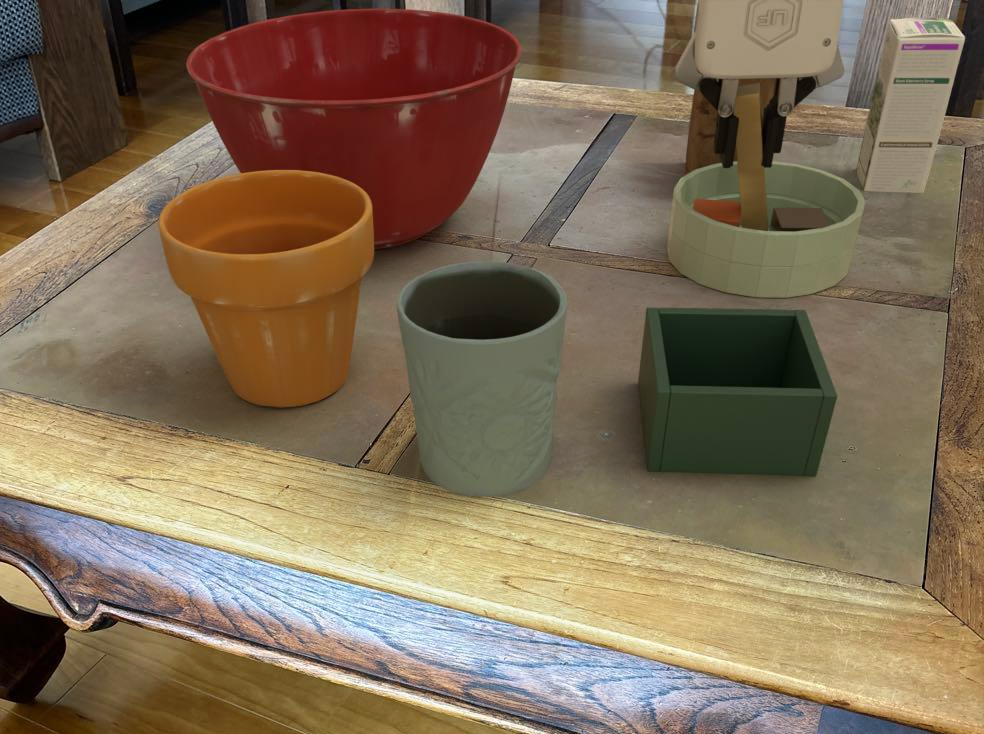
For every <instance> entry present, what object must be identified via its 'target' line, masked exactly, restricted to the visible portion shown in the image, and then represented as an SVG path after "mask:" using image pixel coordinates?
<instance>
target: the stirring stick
mask: <svg viewBox="0 0 984 734" xmlns="http://www.w3.org/2000/svg"><path fill="white" fill-rule="evenodd" d="M733 115H734V116H736V117H739V125H738V132H737V140H736V153H737V166H738V179H739V192H740V204H741V217H742V228H747V229H754V230H762V231H768V214H767V197H766V181H765V168H764V166H762V165H761V164H762V158H763V133H762V114H761V98H760V83H755V84H749V85H744V86H738V89H737V94H736V100H735V106H734V111H733Z"/></svg>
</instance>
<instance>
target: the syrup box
mask: <svg viewBox="0 0 984 734" xmlns="http://www.w3.org/2000/svg"><path fill="white" fill-rule="evenodd" d="M965 39H966V36H965V35H964V34H963V33H962V31H961V29H959V27H958V25H956V23H955V22H954V21H953V20H952V19H949V18H939V17H937V18H936V17H908V18H906V17H905V18H897V19H892V18H891V19H890V20H889V23H888V26H887V31H886V34H885V39H884V44H883V48H882V52H881V57H880V61H879V65H878V70H877V74H876V78H875V83H874V89H873V93H872V98H871V102H870V106H869V111H868V115H867V119H866V123H865V127H864V132H863V138H862V142H861V146H860V150H859V151H860V152H859V155H858V160H857V164H856V165H857V166H856V168H855V169H856V170H855V171H856V173H857V177H858V180H859V182H860V184H861V188H862V190H863V191H864V192H882V193H910V194H917V193H918V194H924V192H925V190H926V186H927V183H928V179H929V175H930V172H931V169H932V165H933V162H934V158H935V154H936V152H937V151H936V150H937V147H938V143H939V140H940V135H941V132H942V127H943V124H944V120H945V116H946V113H947V109H948V106H949V101H950V97H951V93H952V89H953V86H954V82H955V78H956V74H957V70H958V66H959V63H960V59H961V56H962V52H963V48H964V44H965V41H966V40H965Z"/></svg>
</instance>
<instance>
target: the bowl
mask: <svg viewBox="0 0 984 734" xmlns="http://www.w3.org/2000/svg"><path fill="white" fill-rule="evenodd" d="M765 181H766V197H767V214H768V231H762V230H754V229H747V228H742V217H741V222H740V227H736V226H732V225H729V224H725V223H722V222H718V221H715V220H712V219H710V218H708V217H706V216H704V215H702V214H700V213H698V212H696V211H694V210H693V206H694V200H695V199H707V200H721V201H735V202H740V192H739V179H738V166H737V161H734V162H733V166H730V168H723V166H722V163H717V164H713V165H710V166H706V167H703V168H699V169H696V170H694V171H692V172H690V173H689V174H687V175H685V174H684V175H683V176H682V177H681V178H680V179H679V180H678V182H677V183H676V184H675V186H674V188H673V193H672V201H671V208H670V217H669V219H670V220H669V224H668V233H667V240H666V241H667V242H666V254H667V260H668V262H669V263H670V264H671V265H672V266H673V267H674V268H675V269H676V271H677V272H678V273H680V275H683V276H684V277H686V278H688V279H689V280H691V281H693V282H694V283H696V284H698V285H700V286H703V287H707V288H710V289H713V290H715V291H719V292H722V293H726V294H732V295H737V296H738V295H740V296H745V297H751V298H766V299H767V298H770V299H771V298H775V299H777V298H778V299H785V298H786V299H787V298H793V297H802V296H808V295H814V294H816V293H818V292H822V291H824V290H827V289H830V288H832V287H835V286H836V285H837V284H839V282H841V281H842V280H843V279H844V278H846V277H847V275H848V274H849V269H850V266H851V262H852V259H853V254H854V250H855V247H856V243H857V238H858V234H859V231H860V230H859V229H860V226H861V222H862V219H863V215H864V210H865V206H866V199H865V198H864V196H863V194H862V193H861V191H860V189H859V188H857V187H855V185H853V184H852V183H850V182H849V181H847V180H846V179H845V178H843V177H840V176H837V175H835V174H833V173H830V172H828V171H826V170H822V169H818V168H815V167H811V166H807V165H803V164H800V163H799V164H798V163H791V162H783V161H776V160H773V161H772V167H771V168H765ZM773 208H822V210H823V212H824V214H825V216H826V218H827V220H828V222H829V225H830V226H827V227H824V228H819V229H811V230H804V231H796V232H790V231H769V228H770V223H771V218H772V213H773Z"/></svg>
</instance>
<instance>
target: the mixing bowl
mask: <svg viewBox="0 0 984 734" xmlns="http://www.w3.org/2000/svg"><path fill="white" fill-rule="evenodd" d="M522 55H523V48H522V45H521V43H520V41H519V39H518V38H517V37H515V35H514V34H512V33H511V32H509V31H508V30H506V29H504V28H502V27H500V26H498V25H496V24H493V23H490V22H487V21H484V20H481V19H477V18H474V17H469V16H466V15H461V14H455V13H447V12H440V11H432V10H422V9H407V8H402V9H401V8H355V9H353V8H352V9H349V8H348V9H336V10H324V11H315V12H314V11H313V12H306V13H299V14H291V15H285V16H281V17H280V16H279V17H275V18H270V19H265V20H262V21H261V20H260V21H257V22H253V23H248V24H245V25H242V26H238V27H236V28H233V29H230V30H227V31H225V32H223V33H222V32H221V33H220V34H218V35H216V36H213V37H210V38H209V39H208V40H206V41H204V42H202V43H201V44H200V45H198V46H197V47H195V49H193V50H192V51H191V52H190V53H189V55H188V56H187V59H186V63H185V64H186V65H185V66H186V69H187V72H188V74H189V76H190V77H191V78H192V79H193V80H194V81H195V84H196V86H197V89H198V91H199V93H200V96H201V98H202V101H203V103H204V106H205V107H206V110H207V112H208V115H209V116H210V119H211V121H212V123H213V126H214V128H215V130H216V132H217V133H218V136H219V138H220V140H221V142H222V143H223V146H224V147H225V149H226V151H227V152H228V155H229V156H230V158H231V160H232V162H233V163H234V165H235V166H236V168H237V170H238V171H239V174H242V173H248V172H256V171H268V170H300V171H311V172H318V173H323V174H328V175H332V176H336V177H339V178H342V179H345V180H347V181H350V182H352V183H354V184H356V185H357V186H359V187H360V188H362V189H363V190H364V191H365V192H366V193H367V195H368V196H369V198H370V200H371V202H372V212H373V228H374V250H378V249H379V250H381V249H385V248H391V247H398V246H401V245H405V244H408V243H412V242H413V241H416V240H418V239H420V238H422V237H423V236H426V235H427V234H429V233H430V232H431V231H432V230H434V229H435V228H437V227H439V226H440V225H442V224H443V223H444V222H446V221H448V220H449V219H450V218H451V217H452V216H454V214H455V213H456V212H457V211H458V209H459V208H460V207H461V206H462V205H463V203H465V200H466V199H467V197H468V196H469V194H470V193H471V191H472V189H473V187H474V186H475V184H476V182H477V180H478V178H479V176H480V174H481V171H482V170H483V167H484V165H485V163H486V161H487V159H488V156H489V154H490V152H491V150H492V146H493V144H494V141H495V139H496V137H497V134H498V132H499V129H500V125H501V122H502V120H503V116H504V113H505V109H506V106H507V102H508V98H509V95H510V91H511V87H512V83H513V79H514V74H515V70H516V66H517V65H518V64H519V62H520V60H521V58H522Z"/></svg>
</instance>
